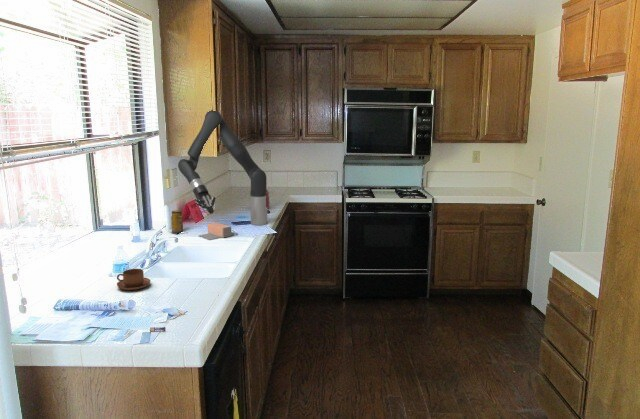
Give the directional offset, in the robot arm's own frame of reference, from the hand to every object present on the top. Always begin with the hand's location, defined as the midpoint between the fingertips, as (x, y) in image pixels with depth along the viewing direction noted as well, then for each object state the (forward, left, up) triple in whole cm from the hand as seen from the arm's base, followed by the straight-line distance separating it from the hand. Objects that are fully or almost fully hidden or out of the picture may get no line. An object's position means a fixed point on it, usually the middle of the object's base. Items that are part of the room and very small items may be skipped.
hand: (212, 212), depth 266 cm
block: (0, -1, -8) cm, 8 cm away
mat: (+1, +7, -11) cm, 13 cm away
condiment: (+13, -14, -12) cm, 23 cm away
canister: (-64, -36, -12) cm, 75 cm away
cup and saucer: (+70, +50, -12) cm, 87 cm away
